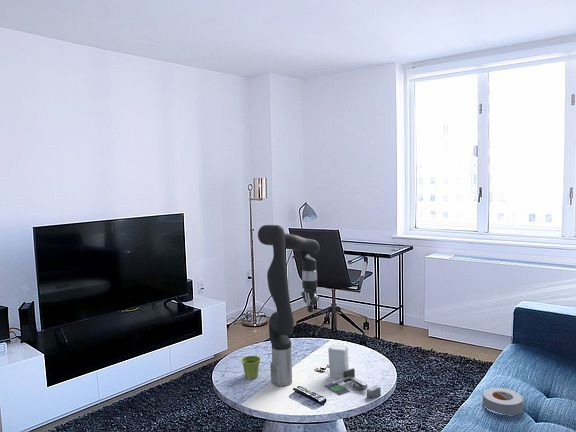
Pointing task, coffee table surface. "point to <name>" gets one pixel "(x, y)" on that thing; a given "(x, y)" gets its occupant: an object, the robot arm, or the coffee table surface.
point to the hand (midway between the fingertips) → (310, 311)
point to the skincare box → (338, 361)
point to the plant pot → (251, 366)
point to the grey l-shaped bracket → (351, 378)
